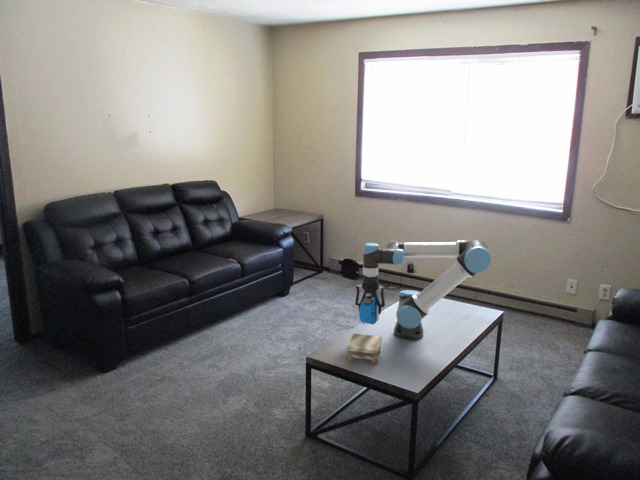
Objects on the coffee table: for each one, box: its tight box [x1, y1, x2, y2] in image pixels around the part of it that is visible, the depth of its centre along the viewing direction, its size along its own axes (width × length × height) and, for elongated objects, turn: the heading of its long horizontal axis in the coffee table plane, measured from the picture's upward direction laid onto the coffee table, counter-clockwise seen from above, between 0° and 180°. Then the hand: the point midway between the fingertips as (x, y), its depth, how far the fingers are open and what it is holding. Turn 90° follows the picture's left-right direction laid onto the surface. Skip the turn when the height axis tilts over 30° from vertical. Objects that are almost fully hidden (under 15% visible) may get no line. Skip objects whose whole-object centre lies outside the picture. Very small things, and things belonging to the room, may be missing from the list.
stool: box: [346, 333, 383, 366], centre depth 251 cm, size 14×16×8 cm
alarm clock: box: [358, 293, 378, 325], centre depth 265 cm, size 13×6×15 cm, turn 152°
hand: (369, 319), depth 266 cm, fingers closed on alarm clock, 7 cm apart
